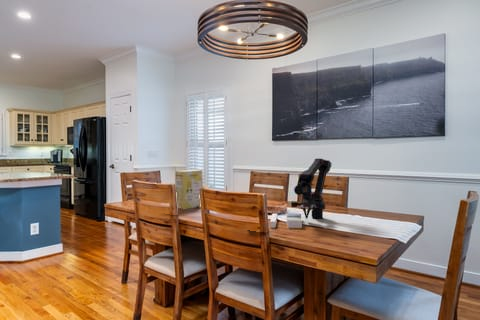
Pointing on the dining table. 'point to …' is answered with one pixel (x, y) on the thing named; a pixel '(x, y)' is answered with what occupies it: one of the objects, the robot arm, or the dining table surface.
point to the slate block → (294, 215)
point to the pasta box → (188, 188)
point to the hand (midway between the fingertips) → (306, 218)
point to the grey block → (294, 222)
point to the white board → (273, 221)
